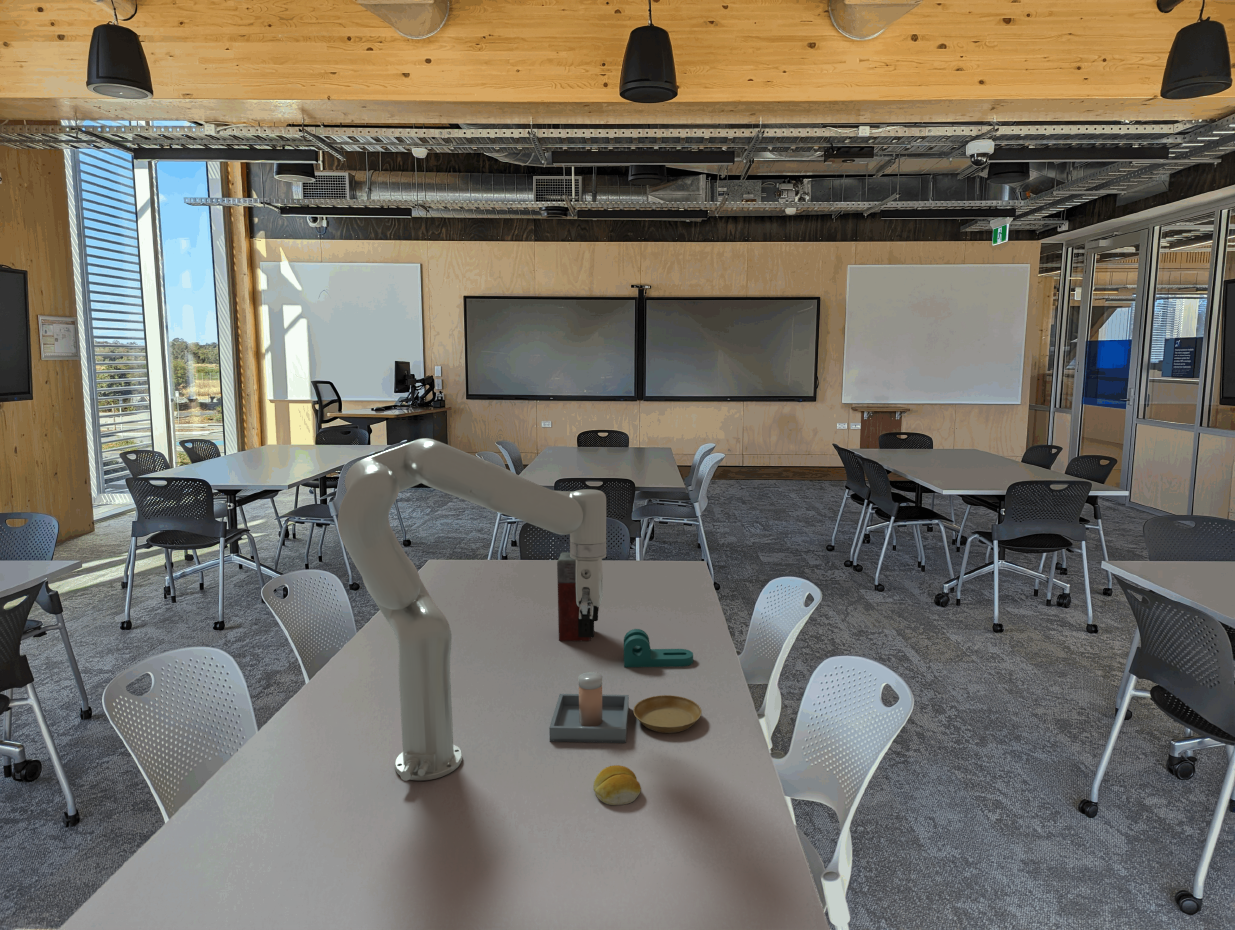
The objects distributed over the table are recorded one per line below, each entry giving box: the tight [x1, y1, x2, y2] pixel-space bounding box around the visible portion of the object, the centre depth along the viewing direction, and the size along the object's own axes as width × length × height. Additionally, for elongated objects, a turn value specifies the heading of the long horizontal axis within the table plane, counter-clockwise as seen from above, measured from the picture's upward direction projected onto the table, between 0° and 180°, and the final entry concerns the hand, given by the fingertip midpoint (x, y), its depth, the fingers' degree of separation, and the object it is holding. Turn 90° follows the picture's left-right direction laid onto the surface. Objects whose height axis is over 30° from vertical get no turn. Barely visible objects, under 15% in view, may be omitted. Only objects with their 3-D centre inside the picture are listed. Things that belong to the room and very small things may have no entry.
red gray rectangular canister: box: [556, 551, 600, 642], centre depth 206 cm, size 9×11×28 cm
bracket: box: [623, 628, 694, 668], centre depth 188 cm, size 18×7×8 cm, turn 91°
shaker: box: [577, 671, 603, 727], centre depth 155 cm, size 5×5×10 cm
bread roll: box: [593, 764, 642, 806], centre depth 130 cm, size 8×9×4 cm
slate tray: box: [548, 693, 630, 744], centre depth 155 cm, size 16×16×3 cm
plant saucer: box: [633, 694, 702, 734], centre depth 157 cm, size 15×15×3 cm
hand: (588, 628), depth 153 cm, fingers open, 9 cm apart
